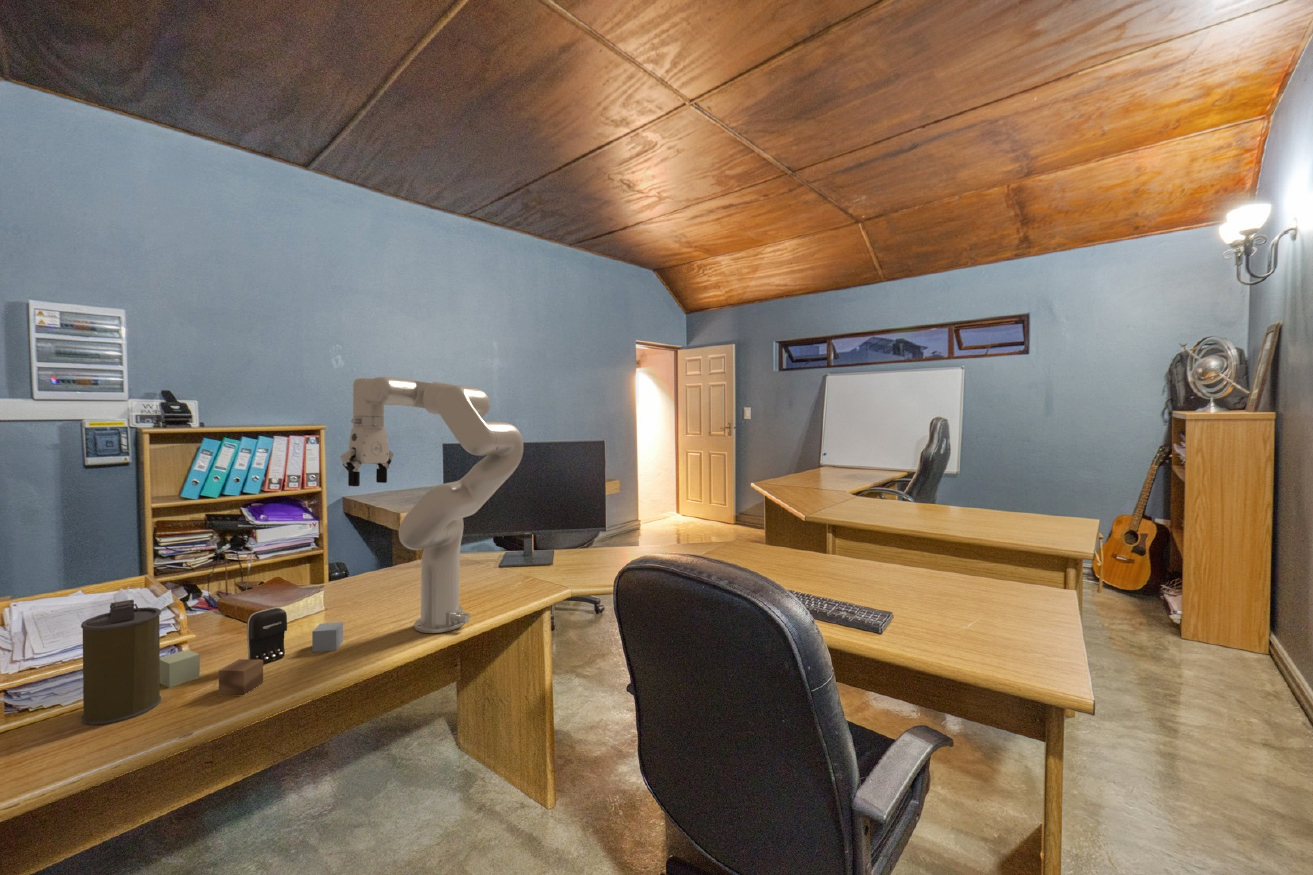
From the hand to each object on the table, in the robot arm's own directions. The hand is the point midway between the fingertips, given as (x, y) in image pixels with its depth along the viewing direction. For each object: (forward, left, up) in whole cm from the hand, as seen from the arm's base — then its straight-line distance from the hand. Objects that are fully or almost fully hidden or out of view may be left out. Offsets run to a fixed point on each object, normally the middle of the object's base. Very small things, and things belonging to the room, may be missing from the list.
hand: (368, 484), depth 147 cm
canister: (+4, +53, -37) cm, 65 cm away
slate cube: (-8, +20, -37) cm, 43 cm away
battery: (-2, +30, -37) cm, 48 cm away
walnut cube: (-9, +41, -37) cm, 56 cm away
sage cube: (+7, +42, -37) cm, 56 cm away
